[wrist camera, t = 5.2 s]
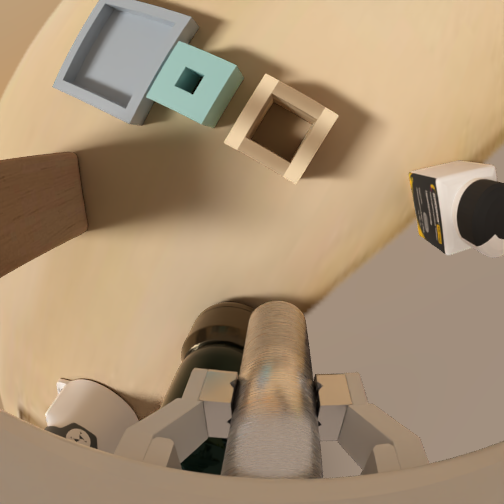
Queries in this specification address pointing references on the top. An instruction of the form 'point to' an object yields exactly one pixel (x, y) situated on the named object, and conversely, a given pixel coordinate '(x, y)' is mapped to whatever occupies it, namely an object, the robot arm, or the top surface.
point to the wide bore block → (296, 104)
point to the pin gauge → (275, 400)
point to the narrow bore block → (185, 79)
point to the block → (38, 206)
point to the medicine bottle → (460, 207)
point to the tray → (122, 56)
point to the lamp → (215, 358)
